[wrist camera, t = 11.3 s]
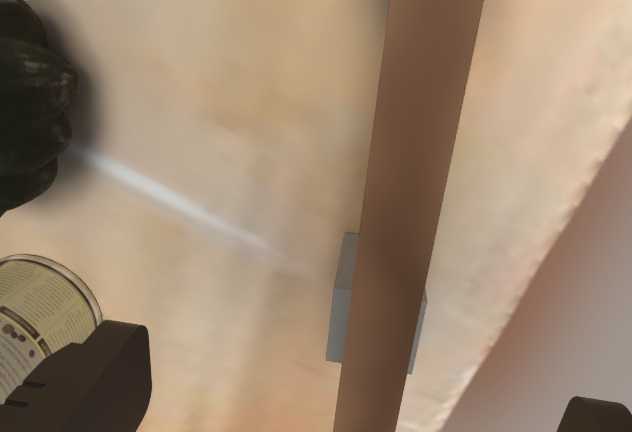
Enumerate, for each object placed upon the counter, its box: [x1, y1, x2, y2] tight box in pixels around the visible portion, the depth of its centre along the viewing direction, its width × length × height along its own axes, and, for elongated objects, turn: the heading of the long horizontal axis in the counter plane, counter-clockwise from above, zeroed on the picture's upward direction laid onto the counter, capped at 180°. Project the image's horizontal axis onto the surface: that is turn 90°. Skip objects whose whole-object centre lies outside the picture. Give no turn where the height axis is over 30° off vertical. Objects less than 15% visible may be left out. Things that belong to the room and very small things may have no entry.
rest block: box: [326, 233, 427, 374], centre depth 30 cm, size 5×5×7 cm
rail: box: [333, 0, 484, 432], centre depth 21 cm, size 3×26×4 cm, turn 175°
